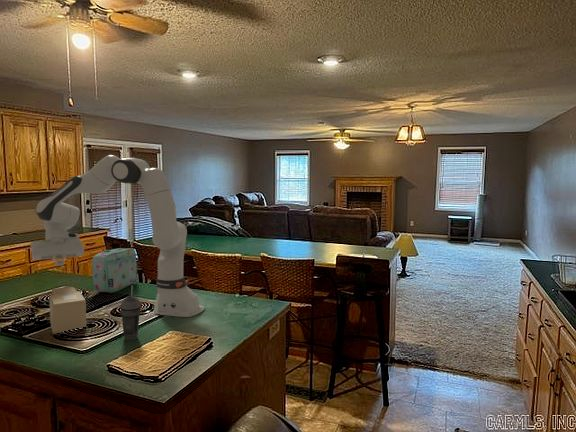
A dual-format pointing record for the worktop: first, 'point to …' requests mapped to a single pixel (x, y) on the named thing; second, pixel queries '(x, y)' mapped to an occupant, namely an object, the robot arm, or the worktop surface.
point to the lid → (66, 296)
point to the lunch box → (114, 269)
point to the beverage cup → (130, 316)
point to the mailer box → (67, 316)
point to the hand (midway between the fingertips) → (59, 264)
